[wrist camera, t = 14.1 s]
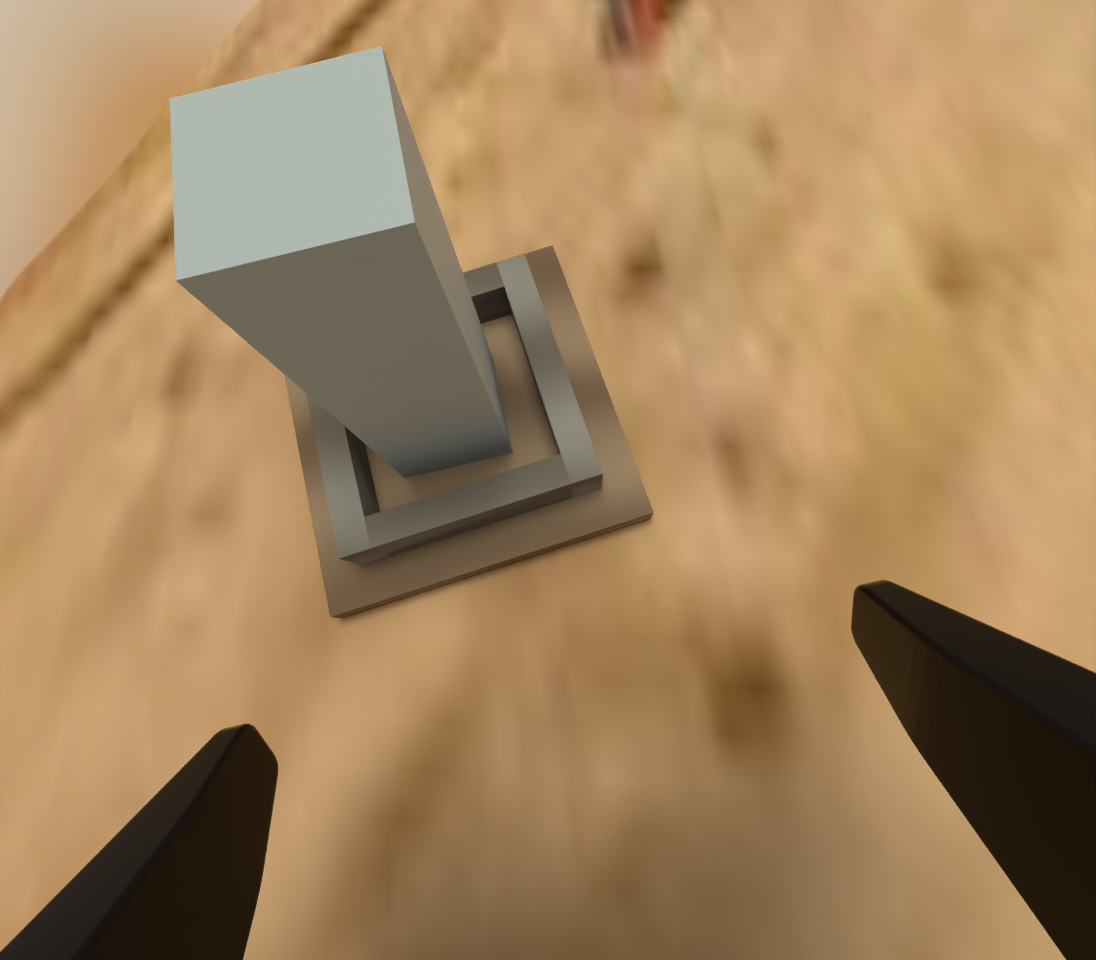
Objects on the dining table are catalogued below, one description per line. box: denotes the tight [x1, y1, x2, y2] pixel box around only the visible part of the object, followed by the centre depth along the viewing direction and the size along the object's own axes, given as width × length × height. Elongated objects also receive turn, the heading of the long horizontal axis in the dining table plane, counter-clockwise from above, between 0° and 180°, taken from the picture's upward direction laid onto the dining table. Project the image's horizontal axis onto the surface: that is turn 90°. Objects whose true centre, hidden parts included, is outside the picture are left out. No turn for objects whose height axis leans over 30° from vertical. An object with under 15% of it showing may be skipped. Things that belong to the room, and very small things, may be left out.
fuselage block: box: [170, 46, 513, 478], centre depth 17 cm, size 4×4×13 cm
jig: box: [285, 245, 653, 618], centre depth 23 cm, size 13×13×3 cm
